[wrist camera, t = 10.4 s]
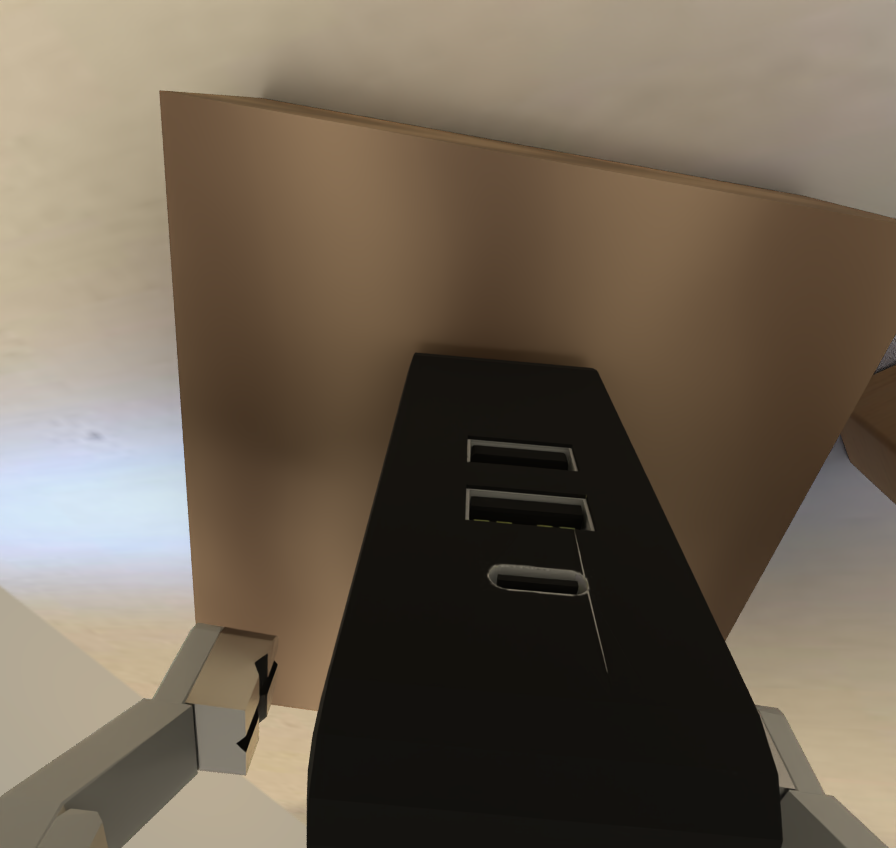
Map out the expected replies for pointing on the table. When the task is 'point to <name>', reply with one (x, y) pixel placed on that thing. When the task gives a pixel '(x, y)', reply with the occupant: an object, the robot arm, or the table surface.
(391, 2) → the table surface
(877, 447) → the wooden block
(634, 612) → the electronic device
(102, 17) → the table surface
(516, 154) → the walnut box
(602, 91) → the table surface
